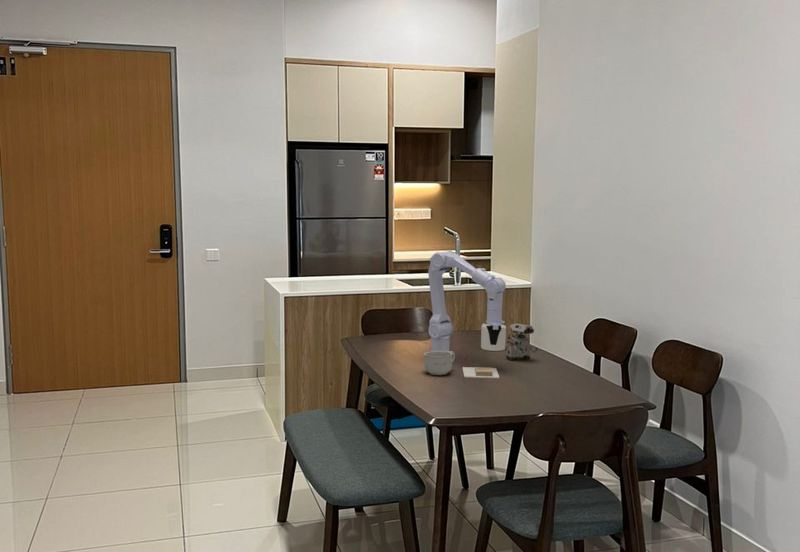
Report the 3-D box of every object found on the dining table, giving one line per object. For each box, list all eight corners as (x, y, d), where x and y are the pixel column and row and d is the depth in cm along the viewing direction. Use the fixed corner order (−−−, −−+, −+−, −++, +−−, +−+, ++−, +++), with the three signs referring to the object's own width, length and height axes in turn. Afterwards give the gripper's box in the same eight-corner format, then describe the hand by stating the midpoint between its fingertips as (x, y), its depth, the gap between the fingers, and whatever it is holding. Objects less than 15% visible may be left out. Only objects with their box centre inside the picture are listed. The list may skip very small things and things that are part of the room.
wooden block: (475, 367, 293) (476, 371, 286) (490, 367, 293) (492, 372, 286) (475, 371, 293) (476, 375, 286) (490, 371, 293) (492, 376, 286)
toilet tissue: (499, 352, 328) (500, 329, 326) (473, 348, 334) (474, 326, 333) (509, 348, 337) (510, 325, 335) (484, 344, 343) (485, 322, 342)
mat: (462, 368, 299) (462, 367, 299) (495, 369, 299) (496, 368, 299) (464, 377, 285) (464, 376, 285) (499, 378, 285) (499, 377, 285)
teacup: (433, 378, 283) (434, 357, 282) (417, 371, 292) (418, 351, 291) (464, 374, 290) (465, 353, 289) (448, 367, 299) (448, 347, 298)
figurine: (516, 364, 307) (518, 327, 305) (504, 357, 318) (505, 322, 316) (537, 363, 310) (538, 326, 308) (524, 356, 321) (525, 321, 319)
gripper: (507, 313, 287) (505, 348, 289) (503, 306, 302) (501, 340, 303) (488, 312, 288) (486, 348, 289) (485, 306, 302) (483, 340, 304)
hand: (493, 344), depth 296 cm, fingers closed
